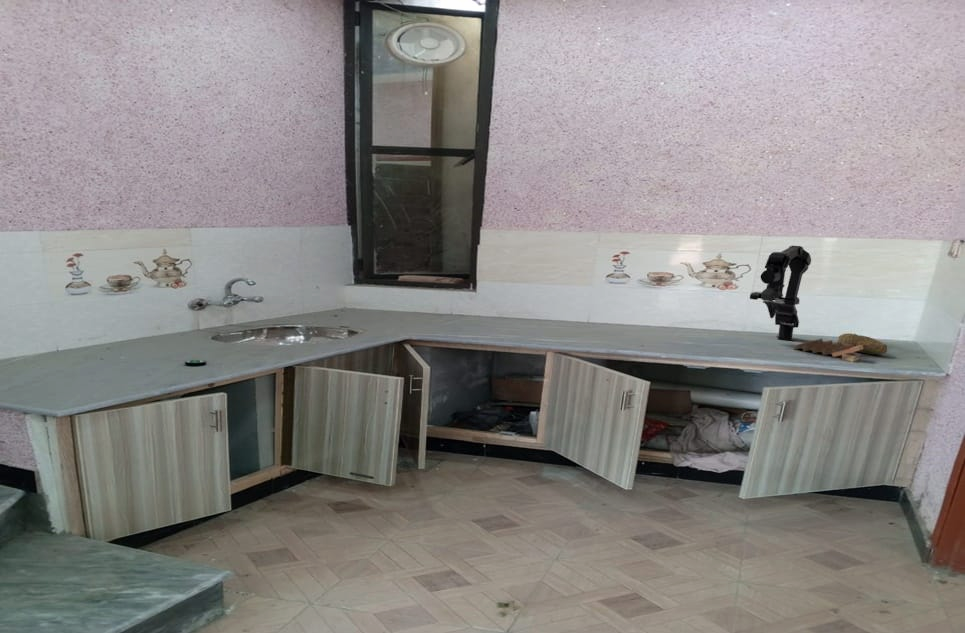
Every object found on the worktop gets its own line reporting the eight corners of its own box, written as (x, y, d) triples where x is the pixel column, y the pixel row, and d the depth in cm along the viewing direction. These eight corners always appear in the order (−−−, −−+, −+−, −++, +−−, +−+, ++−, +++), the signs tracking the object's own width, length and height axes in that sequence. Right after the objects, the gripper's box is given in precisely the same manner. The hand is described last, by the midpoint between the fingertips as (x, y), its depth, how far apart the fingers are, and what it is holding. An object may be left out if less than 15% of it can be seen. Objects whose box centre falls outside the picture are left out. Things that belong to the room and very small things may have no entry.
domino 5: (831, 353, 237) (858, 346, 230) (835, 351, 241) (862, 344, 233) (833, 356, 237) (859, 350, 230) (837, 355, 240) (863, 348, 233)
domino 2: (802, 347, 246) (826, 341, 238) (807, 346, 249) (831, 340, 241) (803, 351, 245) (828, 345, 238) (808, 349, 249) (832, 343, 241)
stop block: (841, 359, 234) (842, 354, 233) (848, 356, 239) (849, 352, 238) (852, 361, 231) (853, 357, 230) (859, 358, 236) (860, 354, 235)
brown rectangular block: (793, 346, 248) (817, 340, 241) (797, 344, 252) (821, 338, 244) (794, 349, 248) (818, 343, 241) (799, 348, 251) (823, 342, 244)
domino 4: (821, 351, 240) (847, 344, 233) (826, 349, 243) (851, 343, 236) (823, 355, 240) (848, 348, 232) (827, 353, 243) (853, 347, 236)
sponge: (833, 348, 259) (856, 349, 239) (837, 331, 259) (861, 331, 239) (863, 355, 258) (890, 357, 238) (868, 338, 258) (895, 339, 238)
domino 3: (811, 349, 243) (837, 343, 235) (816, 348, 246) (841, 341, 239) (813, 353, 243) (838, 347, 235) (817, 351, 246) (842, 345, 238)
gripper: (746, 280, 252) (741, 316, 255) (791, 286, 238) (786, 323, 241) (757, 279, 259) (753, 313, 262) (802, 284, 245) (797, 320, 248)
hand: (771, 318), depth 253 cm, fingers closed
